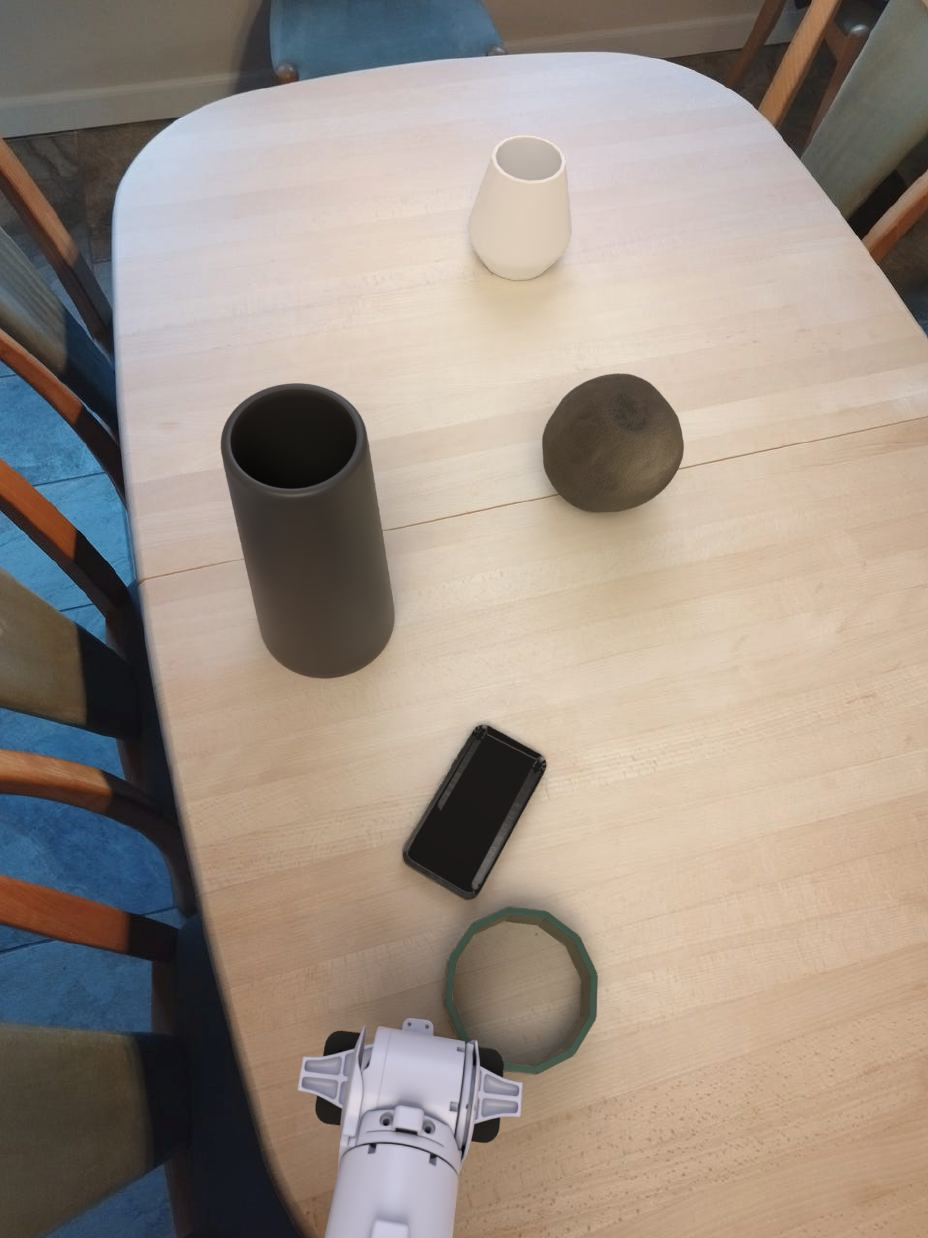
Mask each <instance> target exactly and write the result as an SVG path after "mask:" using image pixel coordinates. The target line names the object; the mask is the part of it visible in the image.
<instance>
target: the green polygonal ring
mask: <svg viewBox="0 0 928 1238" xmlns="http://www.w3.org/2000/svg"><path fill="white" fill-rule="evenodd" d="M504 922H505V923H506V922H507V923H513V924H522V925H530V926H538V927H539V928H541V930H543V931H544V932H546V934H548V935H550V936H551V937H552V938H553V939H555V940H556V941H557V942H559V944H562V945H563V946H564V947H565V949H566V951H567V953H568V956H569V957H570V960H571V962H572V964H573V966H574V968H575V970H576V972H577V975H578V977H579V979H580V993H579V994H580V997H579V1017H578V1019H577V1020H576V1023H575V1024H574V1026H573V1028H572V1029H571V1031H570V1033H569V1034H568V1036H567V1037H566V1040H565V1041H564V1042H563V1044H562V1046H561V1047H560V1049H558V1050H556V1051H554V1052H552V1053H550V1054H548V1055H546V1056H545V1057H543V1058H541V1059H539V1060H537V1061H535V1062H533V1063H530V1064H523V1063H515V1062H505V1061H503V1062H504V1070H503V1072H510V1073H518V1074H526V1075H535V1076H537V1075H539V1074H541V1073H544V1072H545V1071H548V1070H549V1069H552V1068H553V1067H556V1066H557V1065H559V1064H562V1063H563V1062H565V1061H567V1060H569V1059H570V1058H573V1057H574V1055H576V1054H577V1052H578V1050H579V1049H580V1047H581V1045H582V1044H583V1042H584V1041H585V1039H586V1037H587V1036H588V1034H589V1032H590V1030H591V1029H592V1027H593V1026H594V1023H595V1022H596V1020H597V1018H598V1017H597V1014H598V1013H597V1012H598V988H599V987H598V984H599V983H598V982H599V975H598V972H597V969H596V967H595V965H594V963H593V961H592V958H591V956H590V955H589V953H588V950H587V949H586V946H585V944H584V941H583V939H582V938H581V936H580V935H579V934H578V933H577V932H576V931H574V930H573V929H571V928H570V927H569V926H568V925H566V924H565V923H564V922H563V921H561V920H559V919H558V918H557V917H555V916H554V915H553V914H551V913H550V912H549V911H546V910H541V909H533V908H525V907H516V906H506V907H503V908H502V909H499V910H497V911H495V912H493V913H490V914H488V915H486V916H484V917H482V918H480V919H478V920H475V921H473V922H472V923H471V924H470V925H469V927H468V928H467V930H466V932H465V933H464V934H463V936H462V937H461V938H460V940H459V942H458V943H457V944H456V946H455V948H453V950H452V952H451V953H450V955H449V957H448V959H447V962H446V967H445V976H444V985H443V994H442V995H443V996H442V1006H443V1008H444V1011H445V1014H446V1017H447V1018H448V1021H449V1023H450V1026H451V1029H452V1031H453V1034H454V1036H455V1040H460V1041H465V1045H466V1044H467V1043H468V1042H470V1041H473V1039H471V1038H470V1037H468V1035H467V1033H466V1030H465V1028H464V1024H463V1022H462V1021H461V1018H460V1015H459V1012H458V1010H457V1008H456V1005H455V1002H454V1000H453V996H454V995H453V994H454V983H455V974H456V965H457V961H458V960H459V958H460V956H461V955H462V954H463V952H464V951H465V949H466V948H467V946H468V945H469V943H470V942H471V941H472V939H473V937H475V936H476V935H478V934H480V933H483V932H484V931H487V930H489V929H491V928H493V927H495V926H498V925H500V924H502V923H504ZM478 1047H480V1046H479V1045H478Z"/></svg>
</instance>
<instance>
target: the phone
mask: <svg viewBox="0 0 928 1238" xmlns="http://www.w3.org/2000/svg"><path fill="white" fill-rule="evenodd" d="M546 770H547V760H546V758H545V757H544V756H543V754H541V753H540V752H537V751H536V750H534V749H532V748H530V747H528V746H527V745H525V744H523V743H522V742H520V741H518V740H516V739H514V738H512V737H511V736H509V735H507V734H505V733H504V732H501V731H499V730H498V729H496V728H494V727H492V726H491V725H488V724H479V725H477V726H476V727H475V728H474V729H473V730H472V731H471V733H470V735H469V736H468V738H467V739H466V741H465V743H464V744H463V747H461V749H460V751H459V752H458V754H457V756H456V758H454V760H453V762H452V764H451V766H450V768H449V770H448V772H447V774H446V775H445V777H444V778H443V780H442V781H441V783H440V785H439V787H438V789H437V790H436V792H435V793H434V795H433V797H432V798H431V801H430V802H429V803H428V805H427V807H426V809H425V810H424V812H423V814H422V816H421V817H420V818H419V821H418V822H417V824H416V825H415V827H414V829H413V831H412V832H411V834H410V836H409V837H408V838H407V840H406V842H405V844H404V845H403V847H402V861H403V862H404V864H405V865H406V866H407V867H408V868H410V869H412V870H414V871H415V872H417V873H419V874H420V875H422V876H424V877H425V878H426V879H429V880H430V881H432V882H434V883H436V884H437V885H439V886H440V887H442V888H444V890H447V891H449V892H450V893H452V894H454V895H455V896H456V897H459V898H460V899H462V900H465V901H471V900H473V899H475V898H477V897H478V896H479V894H480V893H481V891H482V889H483V887H484V885H485V884H486V881H487V879H488V877H489V876H490V874H491V872H492V871H493V868H494V867H495V865H496V863H497V861H498V859H499V858H500V856H501V854H502V852H503V849H504V848H505V846H506V844H507V843H508V841H509V839H510V837H511V835H512V834H513V831H514V830H515V828H516V827H517V824H518V822H519V820H520V819H521V817H522V815H523V813H524V811H525V809H526V808H527V806H528V804H529V802H530V800H531V798H532V796H533V795H534V793H535V791H536V789H537V787H538V786H539V783H540V782H541V780H542V778H543V776H544V774H545V771H546Z"/></svg>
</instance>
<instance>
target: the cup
mask: <svg viewBox="0 0 928 1238" xmlns="http://www.w3.org/2000/svg"><path fill="white" fill-rule="evenodd" d="M466 224H467V225H466V227H467V232H468V233H467V234H468V237H469V241H470V245H471V246H472V248H473V250H474V252H476V254H477V255H478V257H479V258H480V260H481V261H482V263H483V265H485V267H486V268H487V269H488V270H489V272H491V273H492V274H494V275H496V276H498V277H500V278H502V279H506V280H511V281H515V282H516V281H517V282H518V281H529V280H532V279H535V278H537V277H539V276H542V274H544V273H545V272H546V271H547V270H548V269H549V268H550V267H552V266H553V264H555V263H556V262H557V261H558V260H559V259H560V258H561V257H562V256H563V255H564V254H565V253H566V252H567V250H568V248H569V246H570V245H569V244H570V242H571V237H572V233H573V225H572V215H571V204H570V192H569V181H568V170H567V160H566V157H565V155H564V151H562V149H560V147H558V145H557V144H555V143H553V142H552V141H549V140H548V139H546V138H544V137H539V136H534V135H530V134H525V135H514V136H510V137H507V138H505V139H502V140H501V141H500V142H498V144H497V145H495V146H494V148H493V151H492V154H491V156H490V159H489V162H488V164H487V167H486V170H485V172H484V175H483V177H482V181H481V183H480V185H479V189H478V192H477V194H476V196H475V200H474V203H473V205H472V208H471V211H470V214H469V216H468V219H467V223H466Z"/></svg>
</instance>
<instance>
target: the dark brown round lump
mask: <svg viewBox="0 0 928 1238" xmlns="http://www.w3.org/2000/svg"><path fill="white" fill-rule="evenodd" d="M684 443H685V442H684V437H683V430H682V425H681V423H680V419H679V416H678V414H677V413H676V411H675V410H674V409H673V407H672V406H671V404H670V402H668V400H667V399H666V398H665V397H664V395H663V394H662V393H661V392H660V391H659V390H658V389H657V388H656V387H655V386H654V384H652V383H651V382H649V381H648V380H647V379H644V378H642V377H640V376H636V375H634V374H630V373H620V372H619V373H618V372H617V373H609V374H603V375H600V376H596V377H593V378H591V379H588V380H586V381H584V382H582V383H580V384H579V385H577V386H575V387H574V388H572V390H570V391H568V393H566V394H565V395H564V396H563V398H562V399H561V400H560V402H559V403H558V405H557V406H556V408H555V410H554V411H553V412H552V414H551V416H550V417H549V419H547V422H546V424H545V427H544V430H543V433H542V439H541V447H542V465H543V469H544V473H545V474H546V477H547V479H548V480H549V483H550V484H551V486H552V487H553V489H554V490H555V491H556V493H557V494H558V495H559V496H561V498H562V499H563V500H565V501H566V502H567V503H568V504H570V505H571V506H573V507H575V508H577V509H579V510H581V511H583V512H587V513H593V514H594V513H595V514H597V513H598V514H599V513H619V512H623V511H627V510H631V509H635V508H637V507H640V506H642V505H644V504H647V503H648V502H650V501H652V500H653V499H655V498H656V497H657V496H658V495H660V493H662V492H663V491H664V490H665V489H666V488H667V487H668V486H669V484H670V483H671V482H672V480H673V479H674V478H675V476H676V475H677V472H678V471H679V468H680V466H681V464H682V461H683V459H684V458H683V457H684V452H685V444H684Z"/></svg>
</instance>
